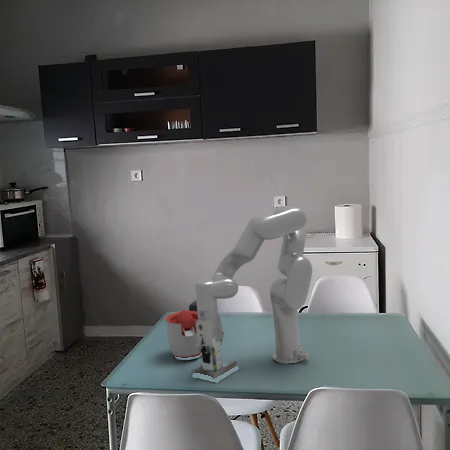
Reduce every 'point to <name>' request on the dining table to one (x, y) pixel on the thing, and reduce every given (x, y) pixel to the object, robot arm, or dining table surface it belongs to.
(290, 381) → the dining table surface
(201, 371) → the rail board
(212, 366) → the syrup box
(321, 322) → the dining table surface
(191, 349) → the citrus juicer
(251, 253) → the robot arm
